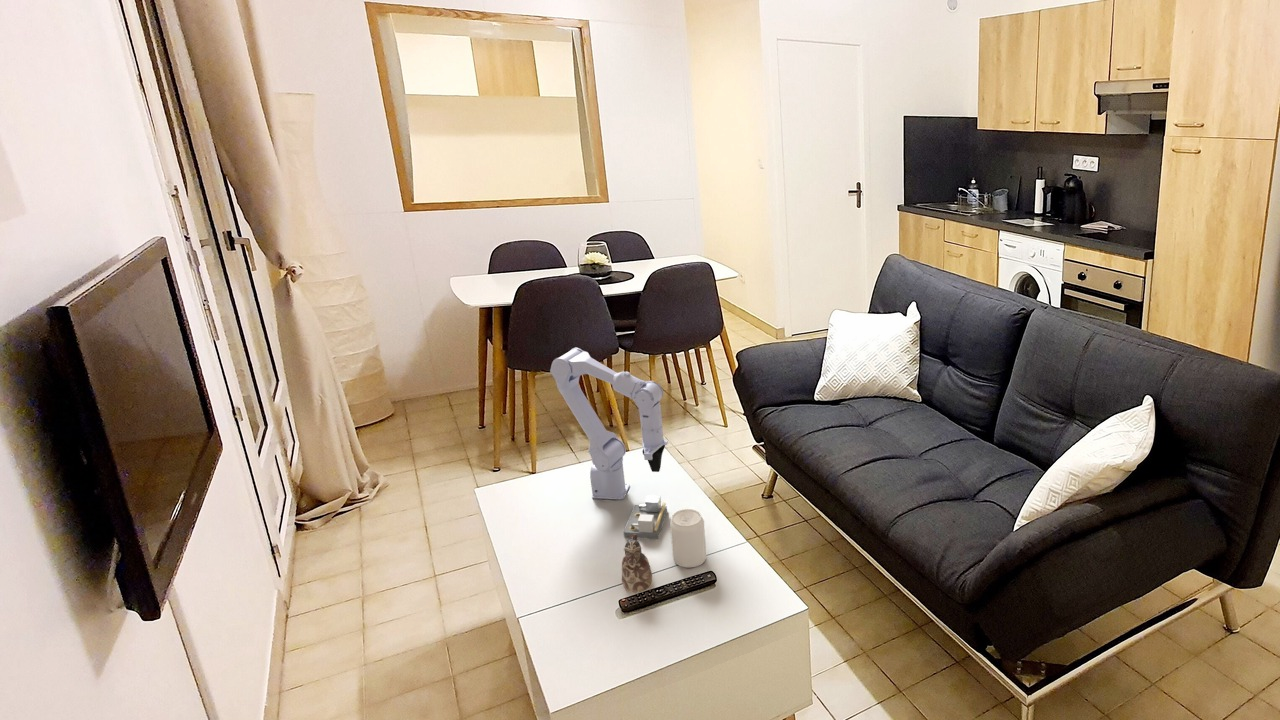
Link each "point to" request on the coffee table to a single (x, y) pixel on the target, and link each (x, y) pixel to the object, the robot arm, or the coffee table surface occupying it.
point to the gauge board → (635, 520)
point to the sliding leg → (652, 504)
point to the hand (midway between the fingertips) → (655, 470)
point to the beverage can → (688, 538)
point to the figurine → (635, 568)
